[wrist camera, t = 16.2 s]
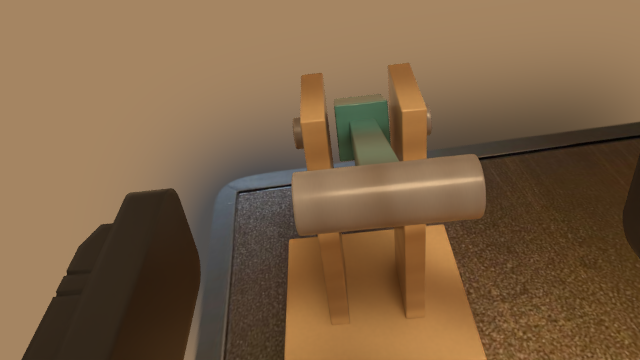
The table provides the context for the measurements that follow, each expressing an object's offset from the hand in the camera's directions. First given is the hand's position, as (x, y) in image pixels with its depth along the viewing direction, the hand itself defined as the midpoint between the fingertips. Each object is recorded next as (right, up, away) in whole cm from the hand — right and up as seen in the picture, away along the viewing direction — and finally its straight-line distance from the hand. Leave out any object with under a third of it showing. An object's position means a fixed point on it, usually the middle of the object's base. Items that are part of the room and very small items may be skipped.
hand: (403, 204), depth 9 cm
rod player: (0, 0, +9) cm, 9 cm away
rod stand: (+2, -7, +21) cm, 22 cm away
